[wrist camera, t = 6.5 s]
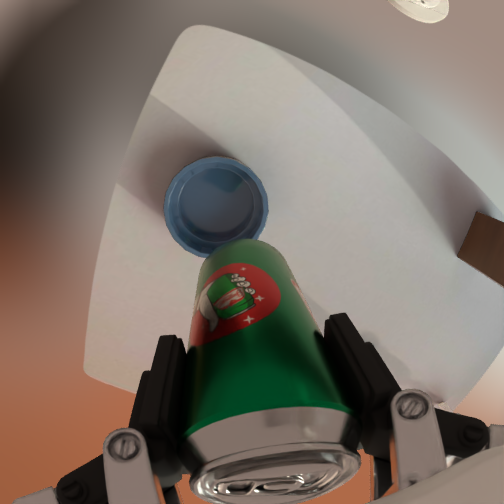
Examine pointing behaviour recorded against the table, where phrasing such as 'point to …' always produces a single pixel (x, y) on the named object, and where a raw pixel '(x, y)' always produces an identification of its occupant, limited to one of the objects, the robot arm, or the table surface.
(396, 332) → the table surface
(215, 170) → the bowl
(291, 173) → the table surface
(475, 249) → the plinth
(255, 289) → the soda can
